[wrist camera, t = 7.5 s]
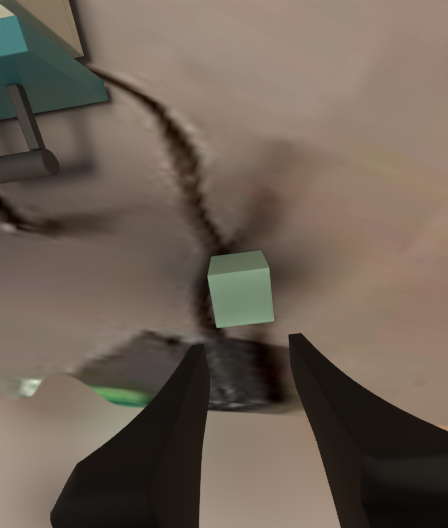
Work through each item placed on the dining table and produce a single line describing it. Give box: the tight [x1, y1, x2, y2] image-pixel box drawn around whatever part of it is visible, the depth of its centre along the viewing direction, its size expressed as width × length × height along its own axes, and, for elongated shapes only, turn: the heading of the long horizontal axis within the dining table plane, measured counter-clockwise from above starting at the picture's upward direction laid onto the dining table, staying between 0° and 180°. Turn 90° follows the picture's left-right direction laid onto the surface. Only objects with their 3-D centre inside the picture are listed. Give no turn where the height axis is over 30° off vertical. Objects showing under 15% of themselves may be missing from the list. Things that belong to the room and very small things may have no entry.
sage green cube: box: [207, 250, 274, 328], centre depth 20 cm, size 4×4×4 cm
